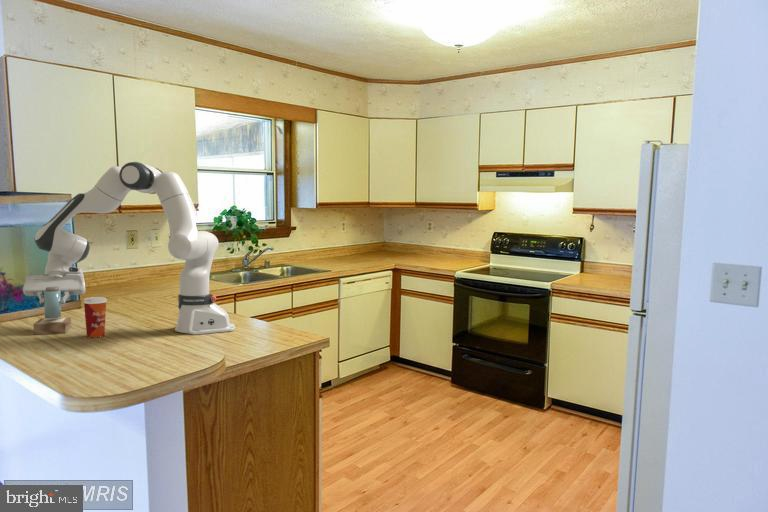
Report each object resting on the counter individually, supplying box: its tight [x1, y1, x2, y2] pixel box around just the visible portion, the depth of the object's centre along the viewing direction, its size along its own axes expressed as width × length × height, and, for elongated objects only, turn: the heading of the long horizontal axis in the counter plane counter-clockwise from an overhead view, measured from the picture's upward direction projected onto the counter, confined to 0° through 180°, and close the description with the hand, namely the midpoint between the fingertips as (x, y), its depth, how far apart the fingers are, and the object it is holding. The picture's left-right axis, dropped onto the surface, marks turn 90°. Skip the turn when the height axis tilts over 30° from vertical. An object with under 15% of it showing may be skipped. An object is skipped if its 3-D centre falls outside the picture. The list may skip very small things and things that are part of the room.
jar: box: [43, 287, 62, 318], centre depth 193 cm, size 5×5×11 cm
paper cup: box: [82, 296, 108, 338], centre depth 188 cm, size 8×8×14 cm
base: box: [33, 317, 72, 336], centre depth 193 cm, size 10×10×4 cm
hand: (52, 303), depth 192 cm, fingers closed on jar, 5 cm apart
